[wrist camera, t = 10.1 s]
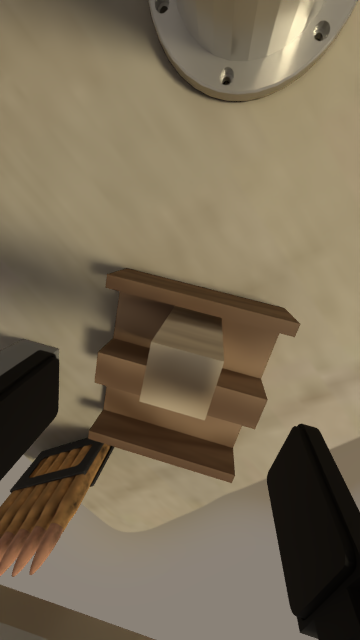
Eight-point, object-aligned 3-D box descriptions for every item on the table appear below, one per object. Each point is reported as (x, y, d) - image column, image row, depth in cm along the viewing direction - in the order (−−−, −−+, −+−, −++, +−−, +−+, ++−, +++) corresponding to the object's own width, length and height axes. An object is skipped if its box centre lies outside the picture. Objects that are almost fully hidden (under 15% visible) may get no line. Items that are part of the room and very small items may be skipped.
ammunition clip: (48, 462, 31) (-50, 591, 19) (40, 451, 30) (-65, 577, 19) (116, 443, 28) (47, 582, 16) (108, 431, 27) (32, 564, 16)
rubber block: (24, 338, 25) (-33, 367, 19) (59, 348, 25) (12, 380, 19) (24, 370, 26) (-29, 405, 21) (57, 380, 26) (13, 418, 20)
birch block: (175, 304, 20) (151, 341, 13) (221, 316, 20) (224, 361, 12) (166, 345, 22) (139, 401, 14) (209, 357, 21) (204, 420, 14)
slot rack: (126, 268, 21) (107, 274, 17) (284, 308, 20) (300, 323, 16) (106, 410, 26) (88, 438, 23) (229, 447, 25) (231, 482, 22)
